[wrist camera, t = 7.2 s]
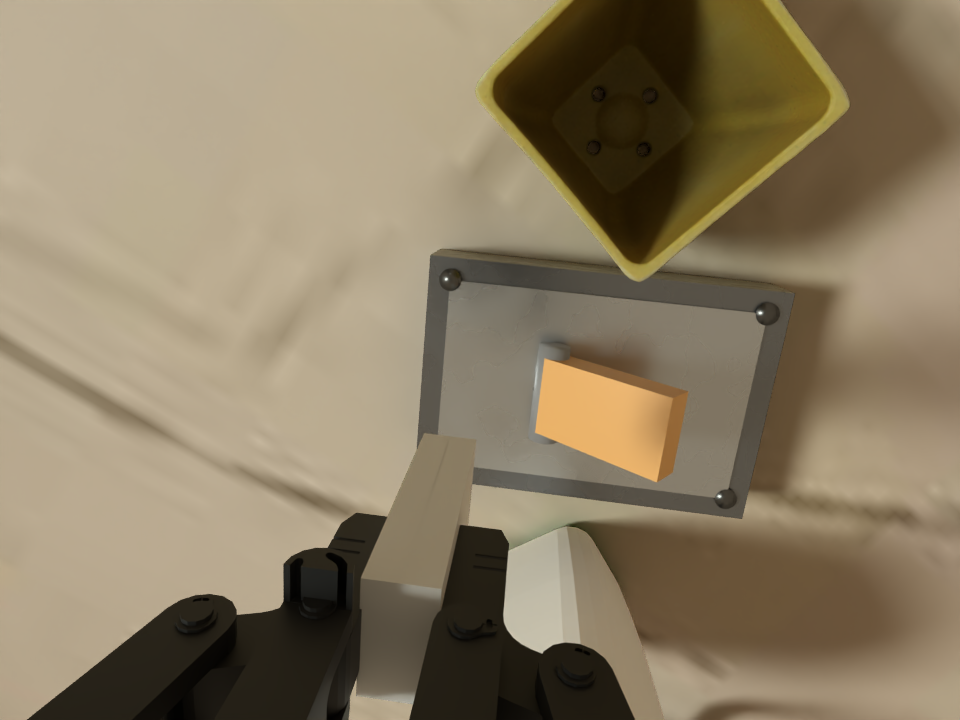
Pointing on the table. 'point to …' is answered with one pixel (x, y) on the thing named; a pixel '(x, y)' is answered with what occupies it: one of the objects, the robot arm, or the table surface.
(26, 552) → the table surface
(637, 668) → the cup
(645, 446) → the paddle
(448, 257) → the panel
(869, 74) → the table surface
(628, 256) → the flower pot
